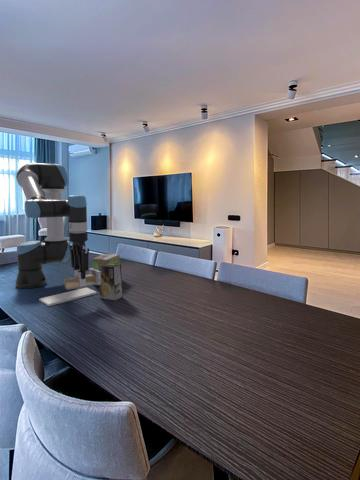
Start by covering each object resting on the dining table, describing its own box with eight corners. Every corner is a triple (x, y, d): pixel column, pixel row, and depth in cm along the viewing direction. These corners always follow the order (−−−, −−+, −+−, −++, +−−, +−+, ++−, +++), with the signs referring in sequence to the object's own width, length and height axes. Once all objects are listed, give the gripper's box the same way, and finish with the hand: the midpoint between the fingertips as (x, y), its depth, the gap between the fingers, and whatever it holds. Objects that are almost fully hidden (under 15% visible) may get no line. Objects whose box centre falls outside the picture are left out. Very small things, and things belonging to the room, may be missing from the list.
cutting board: (39, 300, 140) (39, 298, 140) (86, 289, 157) (86, 287, 157) (48, 306, 133) (48, 304, 133) (96, 293, 150) (96, 291, 150)
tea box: (109, 286, 163) (108, 259, 160) (92, 285, 165) (91, 258, 162) (120, 278, 177) (119, 253, 175) (104, 277, 179) (103, 253, 177)
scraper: (62, 287, 131) (61, 273, 130) (91, 280, 141) (91, 268, 140) (70, 291, 126) (70, 277, 125) (100, 284, 136) (100, 271, 135)
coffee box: (122, 296, 146) (122, 264, 144) (115, 300, 140) (114, 267, 138) (107, 294, 150) (106, 262, 147) (98, 298, 144) (97, 265, 141)
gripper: (61, 231, 132) (64, 282, 136) (79, 234, 121) (81, 291, 125) (77, 229, 137) (79, 279, 141) (95, 233, 126) (97, 287, 130)
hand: (80, 284), depth 133 cm, fingers closed on scraper, 3 cm apart
